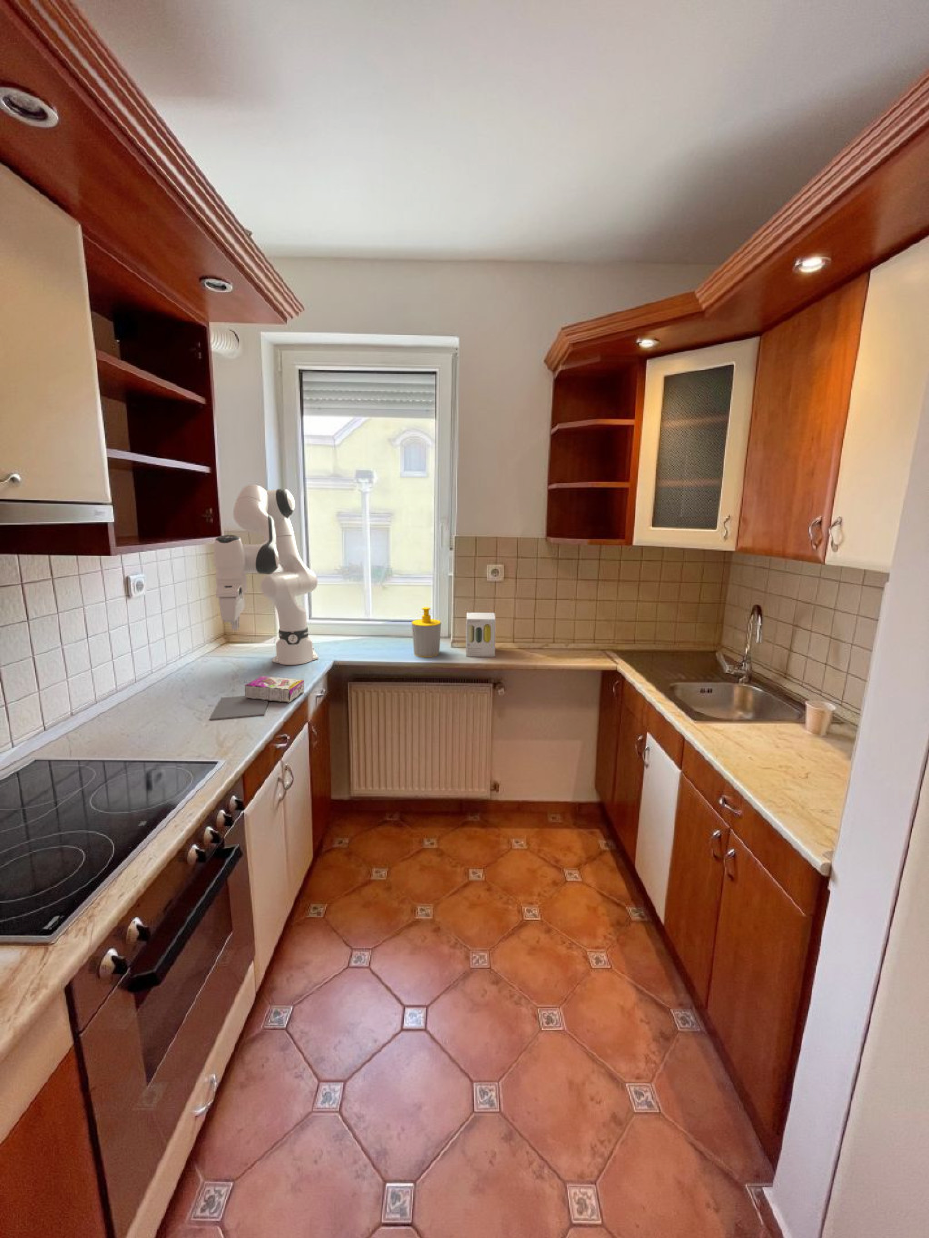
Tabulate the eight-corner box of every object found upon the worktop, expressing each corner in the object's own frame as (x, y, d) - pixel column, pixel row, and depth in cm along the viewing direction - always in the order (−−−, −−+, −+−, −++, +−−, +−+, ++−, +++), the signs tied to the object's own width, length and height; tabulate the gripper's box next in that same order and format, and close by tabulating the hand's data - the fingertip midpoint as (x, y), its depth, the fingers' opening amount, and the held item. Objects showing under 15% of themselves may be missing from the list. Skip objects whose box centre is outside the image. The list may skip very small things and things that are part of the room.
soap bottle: (441, 649, 235) (441, 604, 230) (440, 657, 222) (440, 610, 217) (413, 649, 235) (412, 605, 230) (411, 657, 222) (410, 610, 217)
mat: (221, 699, 174) (221, 697, 174) (270, 694, 178) (270, 693, 178) (209, 720, 157) (209, 718, 157) (264, 715, 161) (264, 713, 161)
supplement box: (465, 656, 224) (465, 618, 220) (466, 648, 237) (466, 612, 233) (495, 657, 224) (496, 618, 220) (494, 648, 237) (495, 612, 233)
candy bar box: (261, 674, 182) (304, 679, 180) (261, 687, 183) (304, 692, 181) (244, 684, 171) (289, 689, 169) (244, 698, 172) (289, 703, 170)
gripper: (227, 582, 169) (231, 621, 172) (214, 593, 150) (218, 637, 153) (247, 581, 171) (250, 621, 174) (237, 592, 151) (241, 636, 155)
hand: (235, 629), depth 163 cm, fingers closed
